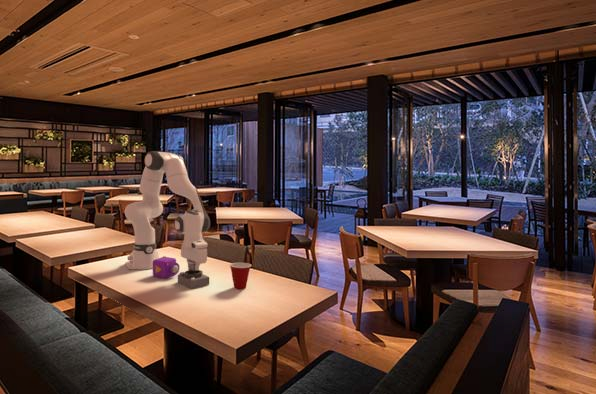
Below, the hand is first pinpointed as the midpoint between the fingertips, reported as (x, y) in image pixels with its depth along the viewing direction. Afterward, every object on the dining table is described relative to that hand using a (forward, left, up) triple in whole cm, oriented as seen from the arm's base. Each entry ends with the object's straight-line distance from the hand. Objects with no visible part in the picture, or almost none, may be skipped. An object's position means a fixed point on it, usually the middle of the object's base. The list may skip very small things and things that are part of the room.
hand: (193, 268), depth 189 cm
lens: (0, 0, -3) cm, 3 cm away
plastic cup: (+21, +14, -8) cm, 27 cm away
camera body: (0, 0, -8) cm, 8 cm away
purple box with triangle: (-21, -4, -8) cm, 23 cm away
